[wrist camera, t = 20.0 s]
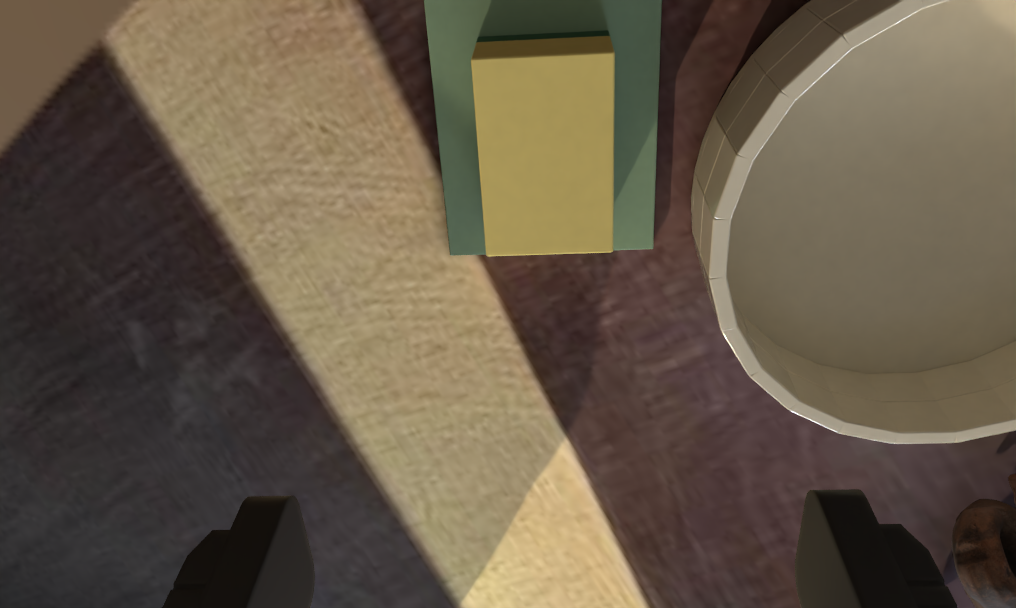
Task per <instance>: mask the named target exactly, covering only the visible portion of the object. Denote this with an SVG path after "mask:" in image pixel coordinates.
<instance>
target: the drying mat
mask: <svg viewBox="0 0 1016 608" xmlns="http://www.w3.org/2000/svg"><path fill="white" fill-rule="evenodd" d="M424 6H425V15H426V25H427V35H428V44H429V54H430V64H431V74H432V83H433V93H434V103H435V113H436V122H437V132H438V142H439V151H440V161H441V171H442V181H443V190H444V200H445V210H446V220H447V229H448V239H449V249H450V255H478V254H486V246H485V234H484V221H483V208H482V195H481V182H480V170H479V157H478V144H477V131H476V118H475V106H474V93H473V80H472V67H471V58H472V55H473V52H474V49H475V45H476V41H477V38H478V37H483V36H503V35H523V34H544V33H564V32H585V31H605V30H608V31H609V34H610V38H611V42H612V45H613V49H614V52H615V87H614V210H613V250H631V249H653V240H654V212H655V183H656V154H657V126H658V97H659V69H660V40H661V12H662V0H424Z"/></svg>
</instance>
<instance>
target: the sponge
mask: <svg viewBox="0 0 1016 608" xmlns="http://www.w3.org/2000/svg"><path fill="white" fill-rule="evenodd" d="M471 67H472V80H473V93H474V106H475V118H476V131H477V144H478V157H479V170H480V182H481V195H482V208H483V221H484V234H485V246H486V255H487V256H512V255H543V254H574V253H604V252H613V210H614V87H615V52H614V49H613V45H612V42H611V38H610V34H609V31H608V30H605V31H585V32H564V33H544V34H523V35H503V36H483V37H478V38H477V41H476V45H475V49H474V52H473V55H472V58H471Z"/></svg>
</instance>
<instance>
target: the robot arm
mask: <svg viewBox="0 0 1016 608" xmlns="http://www.w3.org/2000/svg"><path fill="white" fill-rule="evenodd" d="M795 578H796V587H797V593H798V597H799V601H800V604H801V607H802V608H957V604H956V602H955V600H954V599H953V597H952V595H951V593H950V591H949V589H948V587H945V585H944V579H943V577H942V576H941V574H940V572H939V570H938V568H937V566H936V564H935V562H934V560H933V558H932V556H931V554H930V552H929V551H928V549H926V548H925V547H924V546H923V545H922V544H921V543H920V542H919V541H918V540H917V539H916V538H915V537H914V536H913V535H912V534H910V533H909V532H908V531H907V530H906V529H905V528H904V527H903V526H902V525H901V524H879V523H878V521H877V519H876V517H875V515H874V513H873V511H872V508H871V506H870V504H869V502H868V500H867V498H866V496H865V495H864V493H863V492H862V491H861V490H810V491H808V493H807V495H806V499H805V504H804V510H803V516H802V522H801V528H800V534H799V540H798V546H797V553H796V559H795ZM314 579H315V573H314V563H313V558H312V554H311V550H310V546H309V542H308V538H307V534H306V530H305V526H304V522H303V518H302V514H301V510H300V506H299V502H298V500H297V498H296V497H294V496H254V497H247V498H246V499H245V500H244V501H243V503H242V505H241V507H240V509H239V511H238V513H237V516H236V518H235V520H234V522H233V525H232V527H231V529H230V530H212V531H211V532H210V533H209V534H208V535H207V536H206V537H205V538H204V539H203V540H202V541H201V542H200V543H199V544H198V545H197V546H196V547H195V549H194V550H193V551H192V552H191V553H190V554H189V555H188V556H187V558H186V560H185V562H184V564H183V566H182V568H181V570H180V572H179V574H178V576H177V578H176V580H175V582H174V588H173V590H171V591H170V593H169V595H168V597H167V599H166V601H165V603H164V605H163V607H162V608H310V606H311V602H312V598H313V592H314Z"/></svg>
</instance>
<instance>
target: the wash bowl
mask: <svg viewBox="0 0 1016 608" xmlns="http://www.w3.org/2000/svg"><path fill="white" fill-rule="evenodd" d="M691 224H692V231H693V232H692V234H693V238H694V243H695V249H696V252H697V255H698V258H699V263H700V267H701V271H702V275H703V279H704V282H705V285H706V288H707V291H708V294H709V297H710V300H711V302H712V306H713V309H714V312H715V315H716V317H717V320H718V323H719V326H720V329H721V331H722V334H723V335H724V337H725V339H726V340H727V342H728V343H729V345H730V347H731V348H732V350H733V352H734V353H735V355H736V356H737V358H738V360H739V361H740V363H741V365H742V366H743V368H744V369H745V371H746V373H747V374H748V375H749V376H750V378H752V379H753V380H754V381H755V382H756V383H757V384H759V385H760V386H761V387H762V388H763V389H764V390H766V391H767V392H768V393H769V394H770V395H771V396H773V397H774V398H775V399H776V400H777V401H778V402H780V403H781V404H782V405H783V406H784V407H785V408H787V409H788V410H790V411H791V412H794V413H796V414H798V415H800V416H802V417H804V418H807V419H809V420H811V421H813V422H815V423H817V424H820V425H822V426H824V427H826V428H828V429H830V430H833V431H835V432H838V433H839V434H844V435H849V436H855V437H860V438H865V439H870V440H875V441H880V442H885V443H891V444H894V443H895V444H920V443H954V442H956V443H958V442H962V441H967V440H972V439H977V438H982V437H986V436H991V435H996V434H1001V433H1006V432H1010V431H1015V430H1016V0H811V1H810V2H808V3H807V4H805V5H804V6H802V7H801V8H800V9H799V10H798V11H797V12H795V13H794V14H793V15H792V16H791V17H790V18H788V19H787V20H786V21H785V22H784V23H783V24H781V25H780V26H779V27H778V28H777V29H776V30H775V31H774V32H773V33H772V34H771V35H770V36H769V37H768V38H767V39H766V40H765V41H764V42H763V43H762V45H761V46H760V47H759V48H758V49H757V50H756V51H755V52H754V53H753V54H752V55H751V56H750V58H749V59H748V61H747V62H746V63H745V65H744V66H743V67H742V69H741V70H740V71H739V73H738V74H737V75H736V77H735V78H734V80H733V81H732V82H731V84H730V85H729V87H728V89H727V91H726V92H725V94H724V96H723V98H722V100H721V101H720V103H719V105H718V107H717V108H716V110H715V112H714V114H713V117H712V119H711V121H710V124H709V126H708V129H707V131H706V133H705V136H704V138H703V141H702V144H701V148H700V152H699V155H698V159H697V163H696V167H695V171H694V179H693V187H692V194H691Z"/></svg>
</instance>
